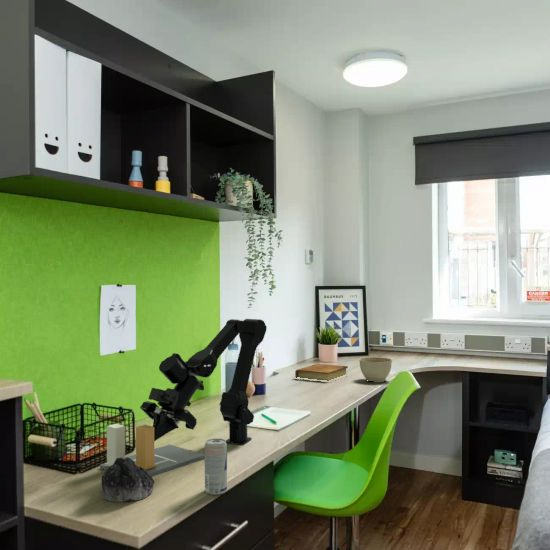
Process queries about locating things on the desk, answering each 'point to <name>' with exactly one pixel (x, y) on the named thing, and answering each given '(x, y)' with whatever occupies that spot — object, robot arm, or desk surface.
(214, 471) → the energy drink
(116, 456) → the cream fader
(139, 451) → the block
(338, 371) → the diary
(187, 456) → the grey marked board
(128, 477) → the crystal cluster
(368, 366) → the planter bowl
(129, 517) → the desk surface
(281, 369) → the desk surface
